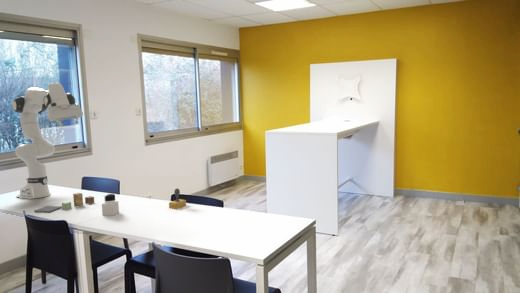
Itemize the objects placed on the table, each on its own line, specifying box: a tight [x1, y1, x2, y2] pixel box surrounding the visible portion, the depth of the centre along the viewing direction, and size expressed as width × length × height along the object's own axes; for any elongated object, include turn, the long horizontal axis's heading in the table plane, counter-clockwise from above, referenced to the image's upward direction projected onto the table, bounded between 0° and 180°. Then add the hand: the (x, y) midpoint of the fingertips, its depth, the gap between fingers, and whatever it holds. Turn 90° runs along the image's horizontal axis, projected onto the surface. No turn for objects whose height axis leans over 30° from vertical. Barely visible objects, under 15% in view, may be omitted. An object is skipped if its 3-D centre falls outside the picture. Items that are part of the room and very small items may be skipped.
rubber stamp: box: [168, 188, 187, 210], centre depth 253 cm, size 10×6×12 cm, turn 149°
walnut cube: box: [84, 195, 95, 205], centre depth 268 cm, size 4×4×4 cm
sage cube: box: [61, 201, 72, 210], centre depth 255 cm, size 4×4×4 cm
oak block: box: [72, 192, 84, 207], centre depth 261 cm, size 4×4×8 cm
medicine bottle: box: [101, 193, 120, 217], centre depth 239 cm, size 7×7×12 cm
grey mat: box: [33, 205, 62, 214], centre depth 252 cm, size 11×11×1 cm
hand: (69, 124), depth 248 cm, fingers open, 8 cm apart
